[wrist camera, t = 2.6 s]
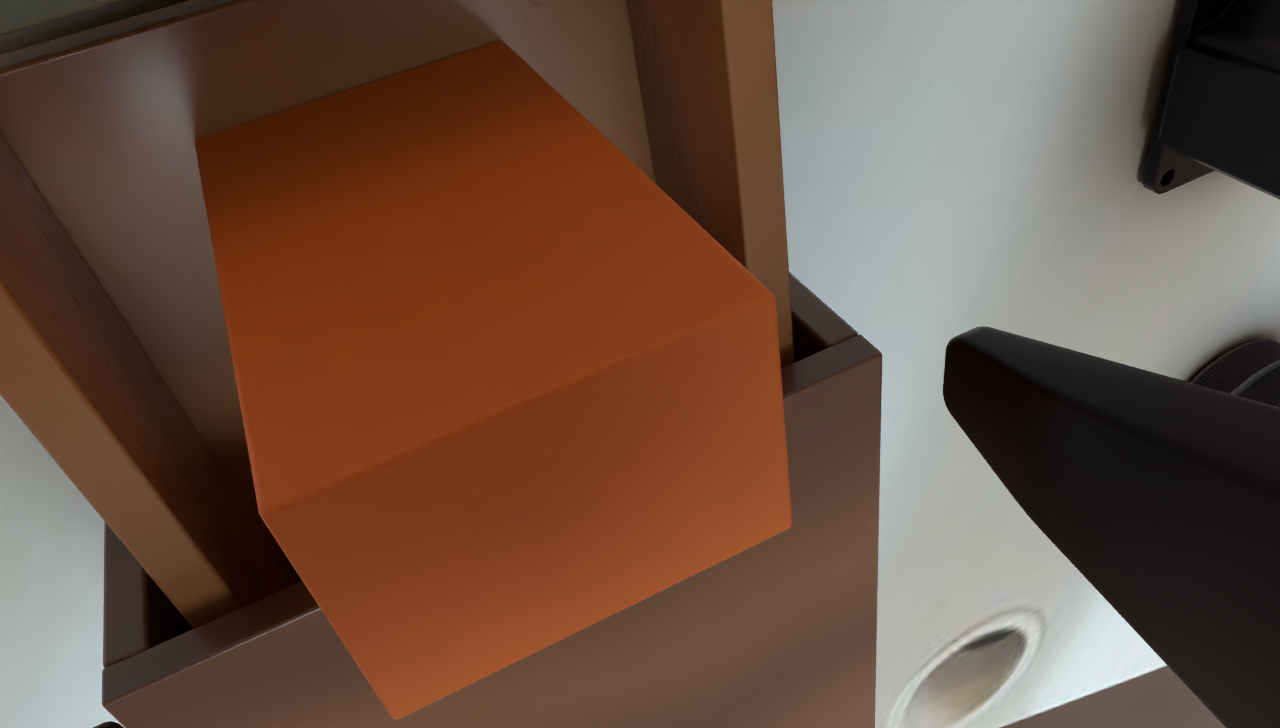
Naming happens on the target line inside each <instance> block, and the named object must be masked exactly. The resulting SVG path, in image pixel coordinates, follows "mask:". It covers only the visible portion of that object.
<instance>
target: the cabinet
mask: <svg viewBox="0 0 1280 728" xmlns="http://www.w3.org/2000/svg"><path fill="white" fill-rule="evenodd" d="M789 285H790V301H791V317H792V333H793V350H794V363H793V364H791V365H789V366H786V367H784V368H782V369H781V376H782V390H783V403H784V417H785V430H786V443H787V457H788V470H789V484H790V497H791V511H792V526H791V527H790V528H789V529H787V530H785V531H783V532H781V533H779V534H777V535H775V536H773V537H771V538H769V539H767V540H765V541H763V542H761V543H759V544H757V545H754V546H752V547H750V548H748V549H746V550H744V551H742V552H740V553H738V554H736V555H734V556H732V557H730V558H728V559H726V560H724V561H722V562H720V563H718V564H716V565H714V566H712V567H710V568H707V569H705V570H703V571H701V572H699V573H697V574H695V575H693V576H691V577H689V578H687V579H685V580H683V581H681V582H679V583H677V584H675V585H673V586H671V587H669V588H667V589H665V590H662V591H660V592H658V593H656V594H654V595H652V596H650V597H648V598H646V599H644V600H642V601H640V602H638V603H636V604H634V605H632V606H630V607H628V608H626V609H624V610H622V611H620V612H617V613H615V614H613V615H611V616H609V617H607V618H605V619H603V620H601V621H599V622H597V623H595V624H593V625H591V626H589V627H587V628H585V629H583V630H581V631H579V632H577V633H575V634H573V635H570V636H568V637H566V638H564V639H562V640H560V641H558V642H556V643H554V644H552V645H550V646H548V647H546V648H544V649H542V650H540V651H538V652H536V653H534V654H532V655H530V656H528V657H525V658H523V659H521V660H519V661H517V662H515V663H513V664H511V665H509V666H507V667H505V668H503V669H501V670H499V671H497V672H495V673H493V674H491V675H489V676H487V677H485V678H483V679H481V680H478V681H476V682H474V683H472V684H470V685H468V686H466V687H464V688H462V689H460V690H458V691H456V692H454V693H452V694H450V695H448V696H446V697H444V698H442V699H440V700H438V701H436V702H433V703H431V704H429V705H427V706H425V707H423V708H421V709H419V710H417V711H415V712H413V713H411V714H409V715H407V716H405V717H403V718H401V719H396V720H395V719H393V718H392V717H391V716H390V715H389V713H388V712H387V710H386V708H385V707H384V705H383V704H382V702H381V701H380V699H379V698H378V696H377V695H376V693H375V692H374V690H373V689H372V687H371V685H370V684H369V682H368V681H367V679H366V678H365V676H364V675H363V673H362V672H361V670H360V669H359V667H358V665H357V664H356V662H355V661H354V659H353V658H352V656H351V655H350V653H349V652H348V650H347V649H346V647H345V645H344V644H343V642H342V641H341V639H340V638H339V636H338V635H337V633H336V632H335V630H334V629H333V627H332V625H331V624H330V622H329V621H328V619H327V618H326V616H325V615H324V613H323V612H322V610H321V609H320V607H319V606H318V604H317V602H316V601H315V599H314V598H313V596H312V595H311V593H310V592H309V590H308V589H307V587H306V586H305V584H304V582H303V581H300V582H298V583H296V584H294V585H291V586H289V587H287V588H285V589H282V590H280V591H278V592H275V593H273V594H271V595H269V596H266V597H264V598H262V599H260V600H257V601H255V602H253V603H251V604H248V605H246V606H244V607H242V608H239V609H237V610H235V611H233V612H230V613H228V614H226V615H223V616H221V617H219V618H217V619H214V620H212V621H210V622H208V623H205V624H203V625H201V626H199V627H196V628H194V629H193V628H192V626H191V625H190V624H189V623H188V622H187V620H186V619H185V618H184V617H183V615H182V614H181V613H180V612H179V611H178V609H177V608H176V607H175V606H174V605H173V603H172V602H171V601H170V600H169V598H168V597H167V596H166V595H165V594H164V592H163V591H162V590H161V589H160V588H159V586H158V585H157V584H156V583H155V581H154V580H153V579H152V578H151V577H150V575H149V574H148V573H147V572H146V571H145V569H144V568H143V567H142V566H141V564H140V563H139V562H138V561H137V560H136V558H135V557H134V556H133V555H132V554H131V552H130V551H129V550H128V549H127V547H126V546H125V545H124V544H123V543H122V541H121V540H120V539H119V538H118V537H117V535H116V534H115V533H114V532H113V530H112V529H111V528H110V527H109V526H108V524H107V523H106V522H105V536H104V635H103V666H104V668H105V669H103V671H102V705H103V707H104V708H105V709H106V710H107V711H108V712H110V713H111V714H112V715H113V716H114V717H115V718H116V719H117V720H118V721H119V722H120V723H121V724H122V725H123V726H124V727H125V728H875V688H876V637H877V587H878V536H879V485H880V435H881V384H882V354H881V352H880V351H879V350H878V349H876V348H875V347H874V346H873V345H872V344H871V343H870V342H869V341H867V340H866V339H865V338H864V337H863V336H862V335H858V334H857V332H856V331H855V330H854V329H853V328H852V327H851V326H850V325H848V324H847V323H846V322H845V321H844V320H843V319H842V318H841V317H839V316H838V315H837V314H836V313H835V312H834V311H833V310H831V309H830V308H829V307H828V306H827V305H826V304H825V303H824V302H822V301H821V300H820V299H819V298H818V297H817V296H816V295H814V294H813V293H812V292H811V291H810V290H809V289H808V288H807V287H805V286H804V285H803V284H802V283H801V282H800V281H799V280H797V279H796V278H795V277H794V276H793V275H792V274H791V273H790V272H789Z"/></svg>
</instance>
